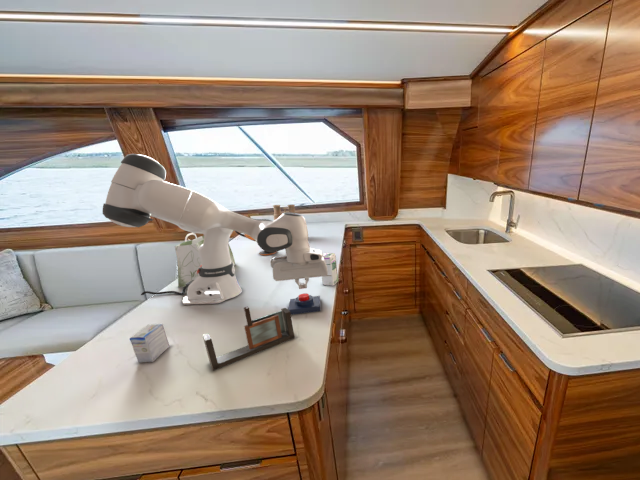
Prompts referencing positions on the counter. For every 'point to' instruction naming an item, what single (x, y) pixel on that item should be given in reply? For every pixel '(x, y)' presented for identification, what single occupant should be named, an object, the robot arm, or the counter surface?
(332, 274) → the syrup box
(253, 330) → the sash
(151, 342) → the medicine box
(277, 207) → the binoculars
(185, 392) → the counter surface
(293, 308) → the button box
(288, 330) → the window frame
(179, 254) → the grocery bag
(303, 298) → the button
